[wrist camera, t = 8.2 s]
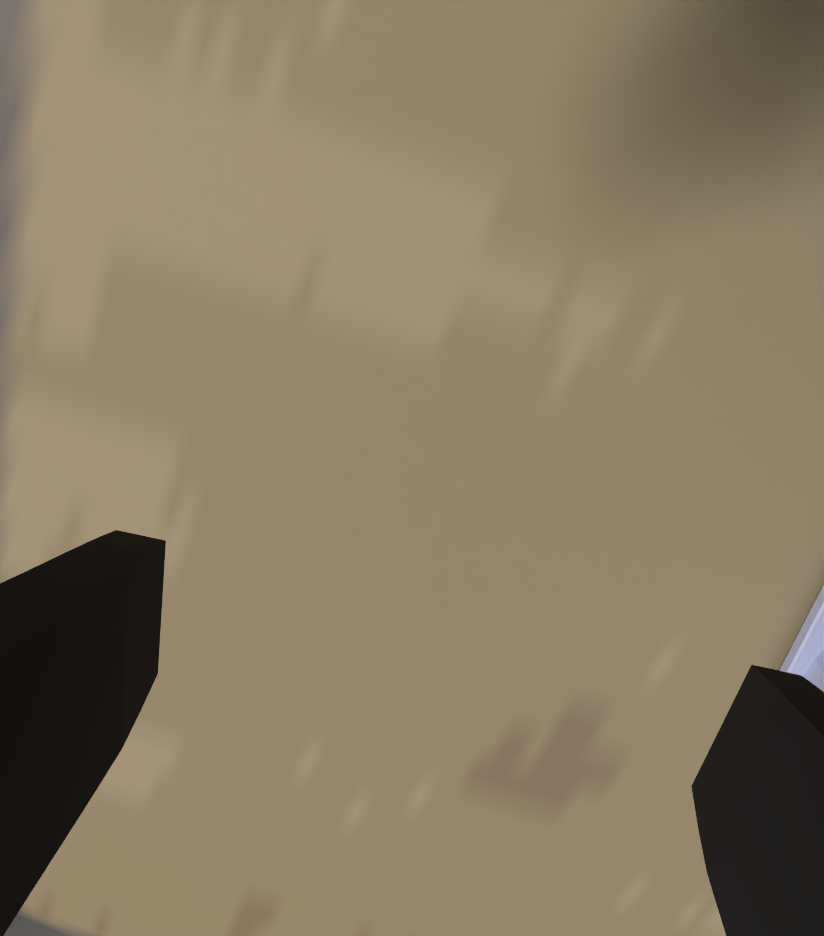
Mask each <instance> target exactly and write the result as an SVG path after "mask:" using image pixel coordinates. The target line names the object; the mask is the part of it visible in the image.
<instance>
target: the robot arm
mask: <svg viewBox="0 0 824 936" xmlns="http://www.w3.org/2000/svg"><path fill="white" fill-rule="evenodd" d="M165 543H166V541H164V540H160V539H155V538H150V537H146V536H141V535H136V534H131V533H127V532H122V531H117V530H116V531H113V532H111V533H108V534H106V535H103V536H101V537H99V538H96V539H94V540H92V541H90V542H87V543H85V544H83V545H81V546H79V547H77V548H75V549H72V550H70V551H68V552H66V553H64V554H62V555H60V556H58V557H56V558H53V559H51V560H49V561H47V562H45V563H43V564H41V565H39V566H37V567H35V568H33V569H30V570H28V571H26V572H24V573H22V574H20V575H18V576H16V577H13V578H11V579H9V580H7V581H5V582H3V583H1V584H0V936H3V935H4V934H5V932H6V930H7V929H8V927H9V926H10V924H11V923H12V921H13V919H14V918H15V916H16V915H17V913H18V912H19V910H20V908H21V907H22V905H23V904H24V902H25V901H26V899H27V898H28V896H29V894H30V893H31V891H32V890H33V888H34V887H35V885H36V883H37V882H38V880H39V879H40V877H41V876H42V874H43V872H44V871H45V869H46V868H47V866H48V865H49V863H50V862H51V860H52V858H53V857H54V855H55V854H56V852H57V851H58V849H59V847H60V846H61V844H62V843H63V841H64V840H65V838H66V836H67V835H68V833H69V832H70V830H71V829H72V827H73V826H74V824H75V822H76V821H77V819H78V818H79V816H80V815H81V813H82V811H83V810H84V808H85V807H86V805H87V804H88V802H89V800H90V799H91V797H92V796H93V794H94V792H95V791H96V789H97V788H98V786H99V784H100V783H101V781H102V780H103V778H104V777H105V775H106V773H107V772H108V770H109V769H110V767H111V765H112V764H113V762H114V761H115V759H116V757H117V756H118V754H119V752H120V751H121V749H122V747H123V745H124V743H125V741H126V739H127V737H128V735H129V733H130V731H131V729H132V727H133V725H134V723H135V721H136V719H137V717H138V715H139V713H140V711H141V708H142V706H143V704H144V702H145V700H146V698H147V696H148V693H149V691H150V689H151V687H152V685H153V683H154V680H155V678H156V676H157V674H158V660H159V643H160V627H161V610H162V593H163V577H164V560H165ZM692 792H693V798H694V804H695V810H696V816H697V822H698V829H699V834H700V839H701V844H702V849H703V854H704V859H705V864H706V869H707V873H708V877H709V880H710V884H711V887H712V890H713V894H714V897H715V900H716V903H717V907H718V910H719V913H720V916H721V920H722V923H723V926H724V929H725V933H726V936H824V585H823V587H822V589H821V591H820V593H819V595H818V597H817V599H816V601H815V603H814V605H813V607H812V609H811V610H810V612H809V614H808V616H807V618H806V620H805V622H804V624H803V626H802V628H801V630H800V632H799V634H798V636H797V637H796V639H795V641H794V643H793V645H792V647H791V649H790V651H789V653H788V655H787V657H786V659H785V661H784V663H783V665H782V666H781V668H780V670H779V671H778V670H773V669H769V668H764V667H759V666H754V665H751V667H750V669H749V671H748V673H747V675H746V677H745V679H744V681H743V683H742V685H741V687H740V689H739V692H738V694H737V696H736V698H735V700H734V702H733V704H732V706H731V708H730V710H729V712H728V714H727V716H726V718H725V720H724V722H723V724H722V726H721V728H720V730H719V732H718V734H717V736H716V738H715V740H714V742H713V744H712V746H711V748H710V750H709V752H708V754H707V756H706V758H705V760H704V762H703V764H702V766H701V768H700V770H699V772H698V774H697V776H696V778H695V780H694V782H693V784H692Z"/></svg>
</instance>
